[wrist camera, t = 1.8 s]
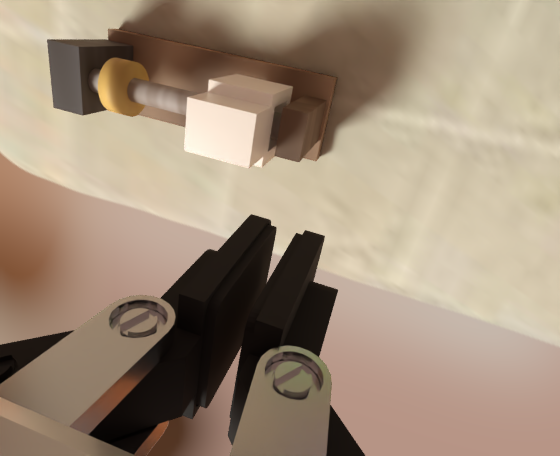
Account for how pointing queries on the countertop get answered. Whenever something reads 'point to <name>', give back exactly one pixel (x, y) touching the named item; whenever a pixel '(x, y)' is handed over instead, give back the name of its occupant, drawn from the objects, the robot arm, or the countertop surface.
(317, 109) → the rail
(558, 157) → the countertop surface
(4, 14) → the countertop surface
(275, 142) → the sleeve
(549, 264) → the countertop surface
